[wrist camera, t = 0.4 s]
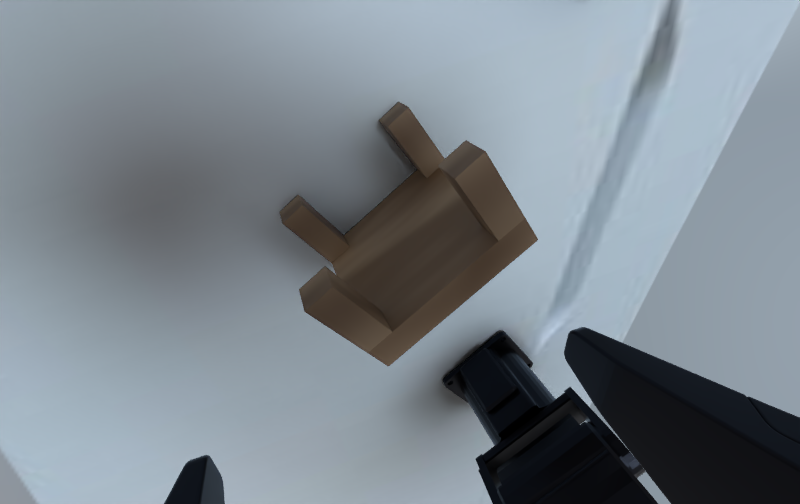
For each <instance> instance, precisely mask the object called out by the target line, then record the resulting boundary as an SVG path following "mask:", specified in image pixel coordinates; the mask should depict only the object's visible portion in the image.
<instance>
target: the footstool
mask: <svg viewBox="0 0 800 504" xmlns="http://www.w3.org/2000/svg"><path fill="white" fill-rule="evenodd" d="M379 121H380V122H381V124H382V125H383V126H384V128H385V129H386V130H387V131H388V133H389V134H390V135H391V137H392V138H393V139H394V140H395V142H396V143H397V144H398V146H399V147H400V148H401V149H402V151H403V152H404V153H405V155H406V156H407V157H408V158H409V160H410V161H411V162H412V164H413V165H414V166H415V167H416V169H417V170H416V171H415V172H414V173H413V174H412V175H411V176H410V177H409V178H407V179H406V180H405V181H404V182H403V183H402V184H401V185H400V186H399V187H397V188H396V189H395V190H394V191H393V192H392V193H391V194H390V195H389V196H387V197H386V198H385V199H384V200H383V201H382V202H381V203H380V204H379V205H377V206H376V207H375V208H374V209H373V210H372V211H371V212H370V213H369V214H367V215H366V216H365V217H364V218H363V219H362V220H361V221H360V222H358V223H357V224H356V225H355V226H354V227H353V228H352V229H351V230H350V231H348V232H347V233H346V234H345V235H343V234H342V233H341V232H340V231H338V230H337V229H336V228H335V227H334V226H333V225H332V224H331V223H330V222H328V221H327V220H326V219H325V218H324V217H323V216H322V215H321V214H319V213H318V212H317V211H316V210H315V209H314V208H313V207H312V206H311V205H309V204H308V203H307V202H306V201H305V200H304V199H303V198H302V197H301V196H299V195H297V196H296V197H295V198H294V199H293V200H292V201H291V202H290V203H289V204H288V205H287V206H285V207H284V208H283V209H282V210H281V211H280V215H281V219H282V223H283V224H284V225H285V226H286V227H288V228H289V229H290V230H291V231H292V232H294V233H295V234H296V235H297V236H299V237H300V238H301V239H302V240H304V241H305V242H306V243H307V244H309V245H310V246H311V247H312V248H314V249H315V250H316V251H317V252H318V253H320V254H321V255H322V256H323V257H325V258H326V259H327V260H328V261H330V262H331V263H332V265H333V268H334V270H335V273H336V274H334V273H333V272H332V271H330V270H329V269H328V268H327V267H324V268H323V269H321V270H320V271H319V272H318V273H317V274H316V275H315V276H314V277H312V278H311V279H310V280H309V281H308V282H307V283H306V284H305V285H303V286H302V287H301V288H300V289H299V291H300V295H301V299H302V303H303V307H304V311H305V312H306V313H307V314H309V315H310V316H312V317H313V318H315V319H317V320H318V321H320V322H321V323H323V324H324V325H326V326H327V327H329V328H330V329H332V330H333V331H335V332H336V333H338V334H339V335H341V336H343V337H344V338H346V339H347V340H349V341H350V342H352V343H353V344H355V345H356V346H358V347H359V348H361V349H362V350H364V351H366V352H367V353H369V354H370V355H372V356H373V357H375V358H376V359H378V360H379V361H381V362H382V363H384V364H385V365H387V366H390V365H391V364H392V363H393V362H394V361H395V360H397V359H398V358H399V357H400V356H401V355H403V354H404V353H405V352H406V351H407V350H408V349H410V348H411V347H412V346H413V345H414V344H416V343H417V342H418V341H419V340H420V339H421V338H423V337H424V336H425V335H426V334H427V333H429V332H430V331H431V330H432V329H433V328H434V327H436V326H437V325H438V324H439V323H440V322H442V321H443V320H444V319H445V318H446V317H447V316H449V315H450V314H451V313H452V312H453V311H455V310H456V309H457V308H458V307H459V306H460V305H462V304H463V303H464V302H465V301H466V300H468V299H469V298H470V297H471V296H472V295H473V294H475V293H476V292H477V291H478V290H479V289H481V288H482V287H483V286H484V285H485V284H486V283H488V282H489V281H490V280H491V279H492V278H494V277H495V276H496V275H497V274H498V273H499V272H501V271H502V270H503V269H504V268H505V267H507V266H508V265H509V264H510V263H511V262H512V261H514V260H515V259H516V258H517V257H518V256H520V255H521V254H522V253H523V252H524V251H525V250H527V249H528V248H529V247H530V246H531V245H533V244H534V243H535V242H536V241H537V240H538V239H537V237H536V235H535V234H534V232H533V230H532V228H531V227H530V225H529V223H528V222H527V220H526V218H525V217H524V215H523V213H522V212H521V210H520V208H519V207H518V205H517V203H516V202H515V200H514V198H513V197H512V195H511V193H510V192H509V190H508V188H507V187H506V185H505V183H504V182H503V180H502V178H501V177H500V175H499V173H498V171H497V170H496V168H495V166H494V165H493V163H492V161H491V160H490V158H489V156H488V155H487V153H486V151H484V150H482V149H480V148H479V147H477V146H475V145H473V144H472V143H470V142H468V141H465V142H463V143H462V144H461V145H460V146H459V147H458V148H457V149H456V150H455V151H453V152H452V153H451V154H450V155H449V156H448V157H447V158H446V159H444V157H443V156H442V154H441V153H440V152H439V150H438V149H437V147H436V146H435V144H434V143H433V142H432V140H431V139H430V137H429V136H428V134H427V133H426V132H425V130H424V129H423V127H422V126H421V124H420V123H419V122H418V120H417V119H416V117H415V116H414V114H413V113H412V111H411V110H410V109H409V107H407V106H405V105H404V104H402V103H400V102H398V103H397V104H396V105H395V106H394V107H393V108H392V109H390V110H389V111H388V112H387V113H386V114H385V115H384V116H383V117H382V118H381V119H380V120H379Z"/></svg>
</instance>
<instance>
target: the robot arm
mask: <svg viewBox="0 0 800 504" xmlns="http://www.w3.org/2000/svg"><path fill="white" fill-rule="evenodd" d="M564 355H565V359H566V361H567V363H568V364H569V366H570V367H571V369H572V371H573V372H574V374H575V375H576V377H577V378H578V380H579V381H580V383H581V385H582V386H583V388H584V389H585V391H586V392H587V394H588V395H589V397H590V399H591V400H592V402H593V403H594V405H595V406H596V407H597V409H598V410H599V412H600V413H601V415H602V416H603V417H604V419H605V420H606V421H607V422H608V424H609V425H610V426H611V427H612V429H613V430H614V431H615V433H616V434H617V435H618V436H619V438H620V439H621V440H622V442H623V443H624V444H625V445H626V447H627V448H628V449H629V450H628V449H627V448H626V447H625V446H624V444H623V443H622V442H621V441H620V440H619V439H618V438H617V437H616V435H615V434H613V432H612V431H611V430H610V429H609V428H608V427H607V425H606V424H605V423H604V422H603V421H602V420H601V419H600V418H599V417H598V416H597V415H596V414H595V413H594V412H593V411H592V410H591V409H590V407H589V406H588V405H587V404H586V403H585V402H584V401H583V400H582V399H581V398H580V397H579V396H578V395H577V394H576V393H575V391H574V390H573V389H572V388H571V387H569V388H568V389H566V390H565V391H564V392H565V393H564V394H562V395H561V396H560V397H558V398H557V399H555V398H554V397H553V396H552V394H551V393H550V392H549V391H548V389H547V388H546V387H545V386H544V385H543V383H542V382H541V381H540V380H539V379H538V377H537V376H536V375H535V374H534V373H533V371H532V370H531V369H530V368H531V367H532V365H533V363H532V361H531V360H530V359H529V358H528V357H527V356H526V355H525V354H524V352H523V351H522V350H521V349H520V348H519V347H518V346H517V345H516V344H515V343H514V342H513V341H512V339H511V338H510V337H509V336H508V335H507V334H506V333H505V332H499V333H498V334H497V335H495V336H494V337H493V338H492V339H491V340H489V341H488V342H487V343H486V344H485V345H483V346H482V347H481V348H480V349H479V350H477V351H476V352H475V353H474V354H473V355H471V356H470V357H469V358H468V359H467V360H465V361H464V362H463V363H462V364H460V365H459V366H458V367H457V368H456V369H454V370H453V371H452V372H451V373H450V374H448V375H447V376H446V377H445V378H444V379H443V383H444V385H445V387H446V388H448V389H449V390H451V391H452V392H454V393H455V394H456V395H458V396H459V397H461V398H462V399H463V400H465V401H466V402H468V403H469V404H470V406H471V407H472V409H473V411H474V412H475V414H476V416H477V417H478V419H479V421H480V422H481V424H482V425H483V427H484V429H485V430H486V432H487V434H488V435H489V437H490V439H491V440H492V442H493V444H494V445H495V446H494V447H493V448H491V449H490V450H489V451H487V452H486V453H485V454H483V455H482V454H481V455H480V456H478V457H477V458H476V461H477V464H478V466H479V468H480V469H479V473H480V475H481V477H482V479H483V482H484V484H485V486H486V489H487V491H488V493H489V496H490V498H491V500H492V503H493V504H658V503H657V502H656V501H655V500H654V498H653V497H652V496H651V495H650V493H649V492H648V491H647V490H646V489H645V487H644V486H643V485H642V484H641V483H640V482H639V481H638V479H637V478H638V477H639V476H640V475H642V474H643V473H644V472H645V471H646V472H647V473H648V474H649V476H650V477H651V479H652V480H653V481H654V482H655V484H656V485H657V486H658V488H659V489H660V490H661V491H662V493H663V494H664V495H665V496H666V498H667V499H668V500H669V502H670V503H671V504H800V417H797V416H794V415H792V414H790V413H787V412H785V411H782V410H780V409H777V408H775V407H772V406H770V405H768V404H765V403H763V402H761V401H758V400H756V399H753V398H751V397H746V396H745V395H744V394H741V393H739V392H737V391H734V390H732V389H730V388H727V387H725V386H723V385H720V384H718V383H716V382H713V381H711V380H709V379H706V378H704V377H701V376H699V375H697V374H694V373H692V372H690V371H687V370H685V369H683V368H680V367H678V366H676V365H673V364H671V363H668V362H666V361H664V360H661V359H659V358H657V357H654V356H652V355H650V354H647V353H645V352H642V351H640V350H638V349H635V348H633V347H631V346H628V345H626V344H624V343H621V342H619V341H617V340H614V339H612V338H610V337H607V336H605V335H603V334H600V333H598V332H595V331H593V330H591V329H588V328H585V327H581V328H578V329H575V330H572V331H570V332H569V334H568V338H567V342H566V346H565V350H564ZM585 420H586V421H587V423H586V422H584V421H585ZM582 422H584V423H582ZM581 423H582V424H581ZM580 424H581V425H580ZM629 451H630V452H631V453H632V454H633V455H632V454H631V453H630V452H629ZM635 458H636V459H637V460H636V459H635ZM643 468H644V469H643ZM164 504H225V502H224V487H223V480H222V477H221V474H220V472H219V471H218V469H217V467H216V466H215V464H214V462H213V460H212V459H211V457H210V456H208V455H204V456H201V457H198V458H196V459H193V460H190V461H188V462H187V463H186V464H185V466H184V467H183V469H182V471H181V473H180V475H179V477H178V479H177V481H176V482H175V484H174V486H173V488H172V490H171V492H170V494H169V496H168V497H167V499H166V501H165V503H164Z"/></svg>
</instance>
